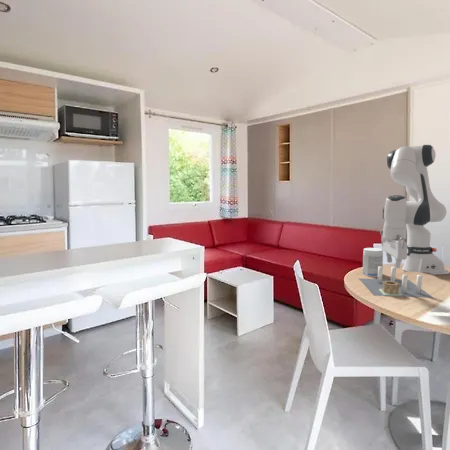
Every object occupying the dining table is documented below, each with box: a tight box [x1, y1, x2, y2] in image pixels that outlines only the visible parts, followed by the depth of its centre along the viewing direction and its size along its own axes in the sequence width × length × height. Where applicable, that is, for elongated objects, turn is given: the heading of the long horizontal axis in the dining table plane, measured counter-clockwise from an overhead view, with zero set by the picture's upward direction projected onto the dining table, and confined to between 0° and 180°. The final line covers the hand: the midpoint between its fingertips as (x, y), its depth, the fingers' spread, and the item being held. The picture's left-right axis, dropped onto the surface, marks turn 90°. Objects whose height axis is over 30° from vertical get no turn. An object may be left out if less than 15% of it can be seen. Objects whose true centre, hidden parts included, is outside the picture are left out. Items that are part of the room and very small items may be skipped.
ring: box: [382, 281, 399, 294], centre depth 148 cm, size 6×6×4 cm
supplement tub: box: [362, 247, 384, 278], centre depth 178 cm, size 10×10×15 cm
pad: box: [379, 289, 403, 297], centre depth 148 cm, size 8×8×1 cm
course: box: [358, 266, 434, 299], centre depth 156 cm, size 24×26×9 cm
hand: (393, 264), depth 147 cm, fingers open, 8 cm apart
